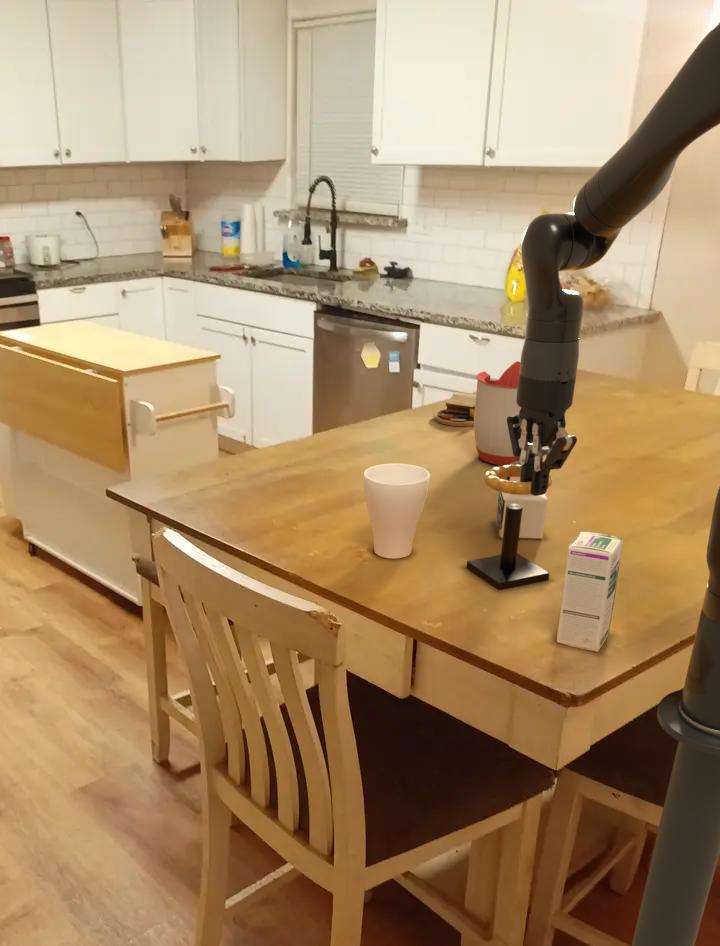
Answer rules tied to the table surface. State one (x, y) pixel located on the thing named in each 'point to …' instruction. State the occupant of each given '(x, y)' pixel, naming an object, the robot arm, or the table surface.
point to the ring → (506, 486)
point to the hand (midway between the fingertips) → (532, 491)
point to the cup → (395, 506)
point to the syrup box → (589, 590)
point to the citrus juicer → (496, 415)
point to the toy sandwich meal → (458, 410)
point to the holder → (508, 558)
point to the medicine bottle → (524, 511)
